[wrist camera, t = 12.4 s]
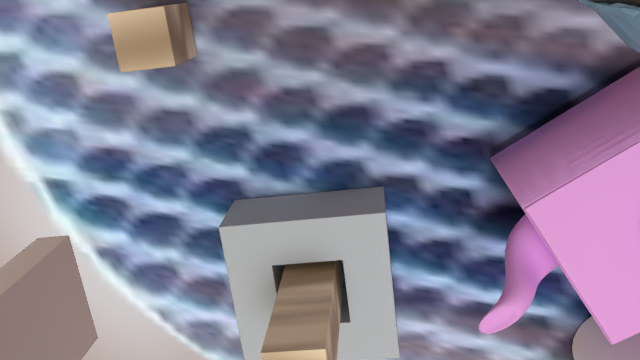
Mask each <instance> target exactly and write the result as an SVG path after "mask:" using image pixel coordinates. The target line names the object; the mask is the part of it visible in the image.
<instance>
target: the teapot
mask: <svg viewBox="0 0 640 360" xmlns="http://www.w3.org/2000/svg"><path fill="white" fill-rule="evenodd" d="M490 160H491V161H492V163H493V164H494V166H495V168H496V169H497V171H498V172H499V174H500V175H501V177H502V178H503V180H504V181H505V183H506V184H507V186H508V188H509V189H510V191H511V192H512V194H513V195H514V197H515V198H516V200H517V201H518V203H519V205H520V206H521V208H522V209H523V211H524V212H525V215H524V216H523V217H522V218H521V219H520V220H519V221H518V222H517V224H516V225H515V227H514V228H513V229H512V231H511V233H510V235H509V237H508V240H507V244H506V249H505V269H506V279H505V287H504V290H503V293H502V295H501V297H500V299H499V301H498V302H497V303H496V304H495V305H494V307H493V308H492V309H491V310H490V311H489V312H488V313H487V314H486V315H485V316H484V317H483V319H482V320H481V322H480V324H479V330H480V331H481V332H482V333H485V334H490V333H495V332H497V331H500V330H502V329H504V328H507V327H508V326H510V325H512V324H513V323H514V322H516V321H517V320H518V319H519V318H520V317H521V316H522V315H523V314H524V312H525V311H526V310H527V309H528V307H529V306H530V304H531V303H532V300H533V298H534V295H535V292H536V289H537V286H538V284H539V282H540V281H541V280H542V279H543V278H544V277H545V276H546V275H547V274H548V273H549V272H551V271H552V270H553V269H555V268H556V267H558V266H560V268H561V269H562V271H563V272H564V274H565V275H566V277H567V278H568V280H569V282H570V283H571V285H572V286H573V288H574V289H575V291H576V292H577V294H578V295H579V297H580V298H581V300H582V301H583V303H584V304H585V306H586V307H587V309H588V311H589V312H590V314H591V315H592V317H593V318H594V320H595V321H596V323H597V324H598V326H599V327H600V329H601V330H602V332H603V333H604V335H605V336H606V338H607V340H608V341H609V343H610V344H611V345H613V344H616V343H618V342H620V341H622V340H624V339H627V338H629V337H631V336H633V335H635V334H637V333H639V332H640V67H638V68H636V69H635V70H633V71H631V72H630V73H628V74H627V75H625V76H623V77H622V78H620V79H618V80H617V81H615V82H613V83H612V84H610V85H608V86H607V87H605V88H603V89H602V90H600V91H598V92H597V93H595V94H594V95H592V96H590V97H589V98H587V99H585V100H584V101H582V102H580V103H579V104H577V105H575V106H574V107H572V108H570V109H569V110H567V111H566V112H564V113H562V114H561V115H559V116H557V117H556V118H554V119H552V120H551V121H549V122H547V123H546V124H544V125H543V126H541V127H539V128H538V129H536V130H534V131H533V132H531V133H529V134H528V135H526V136H525V137H523V138H521V139H520V140H518V141H516V142H515V143H513V144H511V145H510V146H508V147H507V148H505V149H503V150H502V151H500V152H498V153H497V154H495V155H493V156H492V157H490Z"/></svg>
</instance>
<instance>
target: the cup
mask: <svg viewBox="0 0 640 360" xmlns="http://www.w3.org/2000/svg"><path fill="white" fill-rule="evenodd" d="M572 353H573V357H574V360H640V332H639V333H637V334H635V335H633V336H631V337H629V338H627V339H624V340H622V341H620V342H618V343H616V344H613V345H611V344H610V343H609V341H608V340H607V338H606V336H605V335H604V333H603V332H602V330H601V329H600V327H599V326H598V324H597V323H596V321H595V320H594V318H593V317H592V316H591V317H590V318H588V319H587V320H586V321H585V322H584V323H583V324H582V325H581V326H580V327H579V329H578V330H577V332H576V334H575V336H574V339H573V343H572Z"/></svg>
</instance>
